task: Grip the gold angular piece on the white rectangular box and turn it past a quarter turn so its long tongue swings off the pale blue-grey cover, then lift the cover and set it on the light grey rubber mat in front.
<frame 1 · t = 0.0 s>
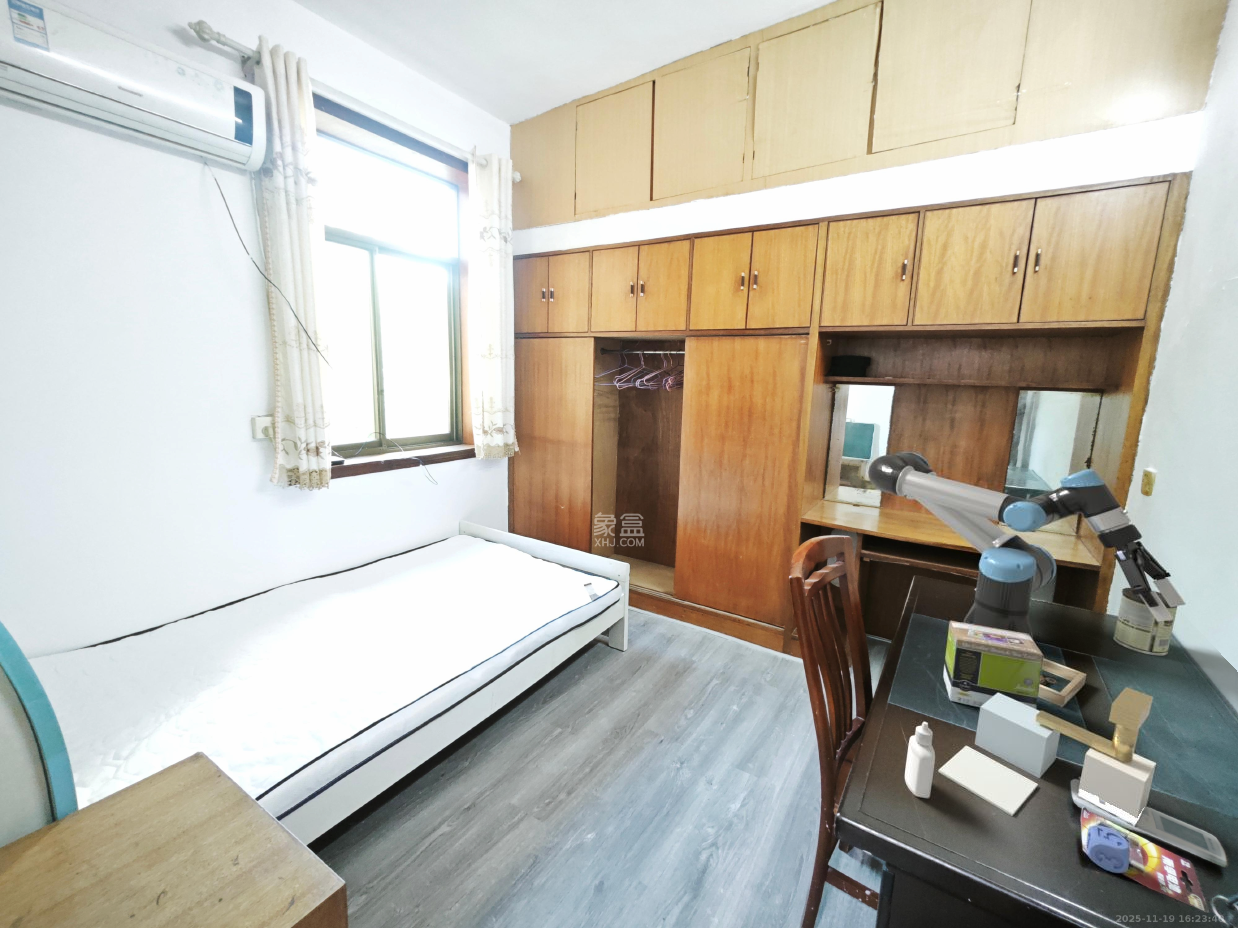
hand: (1172, 612, 120), 15 cm above the table, tool tilted 35°, fingers open, 13 cm apart
gold angular piece: (1088, 712, 86), point 13 cm above the table, hinge at 0.0°
tea box: (984, 698, 111), on the table
coffee can: (1139, 646, 135), on the table
beige square frame: (1032, 678, 119), on the table
eye dropper bottle: (916, 786, 87), on the table
decorative dice: (1104, 861, 74), on the table
mat: (987, 778, 89), on the table
compass: (1032, 679, 119), resting in beige square frame
white rectangular box: (1111, 800, 85), on the table
cover: (1014, 751, 96), on the table
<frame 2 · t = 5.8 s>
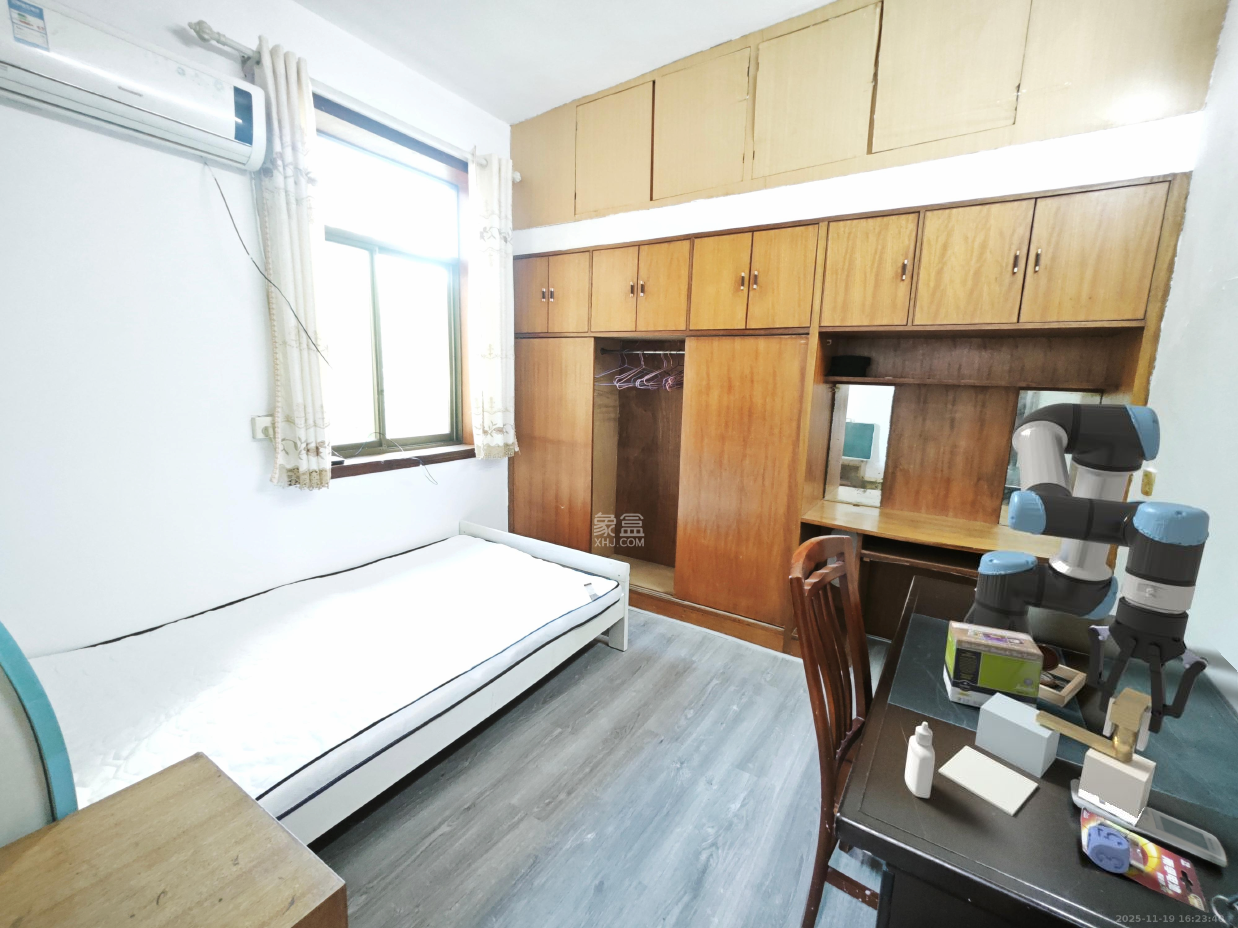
hand: (1124, 738, 83), 12 cm above the table, tool pointing down, fingers closed on gold angular piece, 3 cm apart
gold angular piece: (1088, 712, 86), point 13 cm above the table, hinge at -0.1°, touching gripper
compass: (1043, 681, 119), resting in beige square frame
everything else where it was.
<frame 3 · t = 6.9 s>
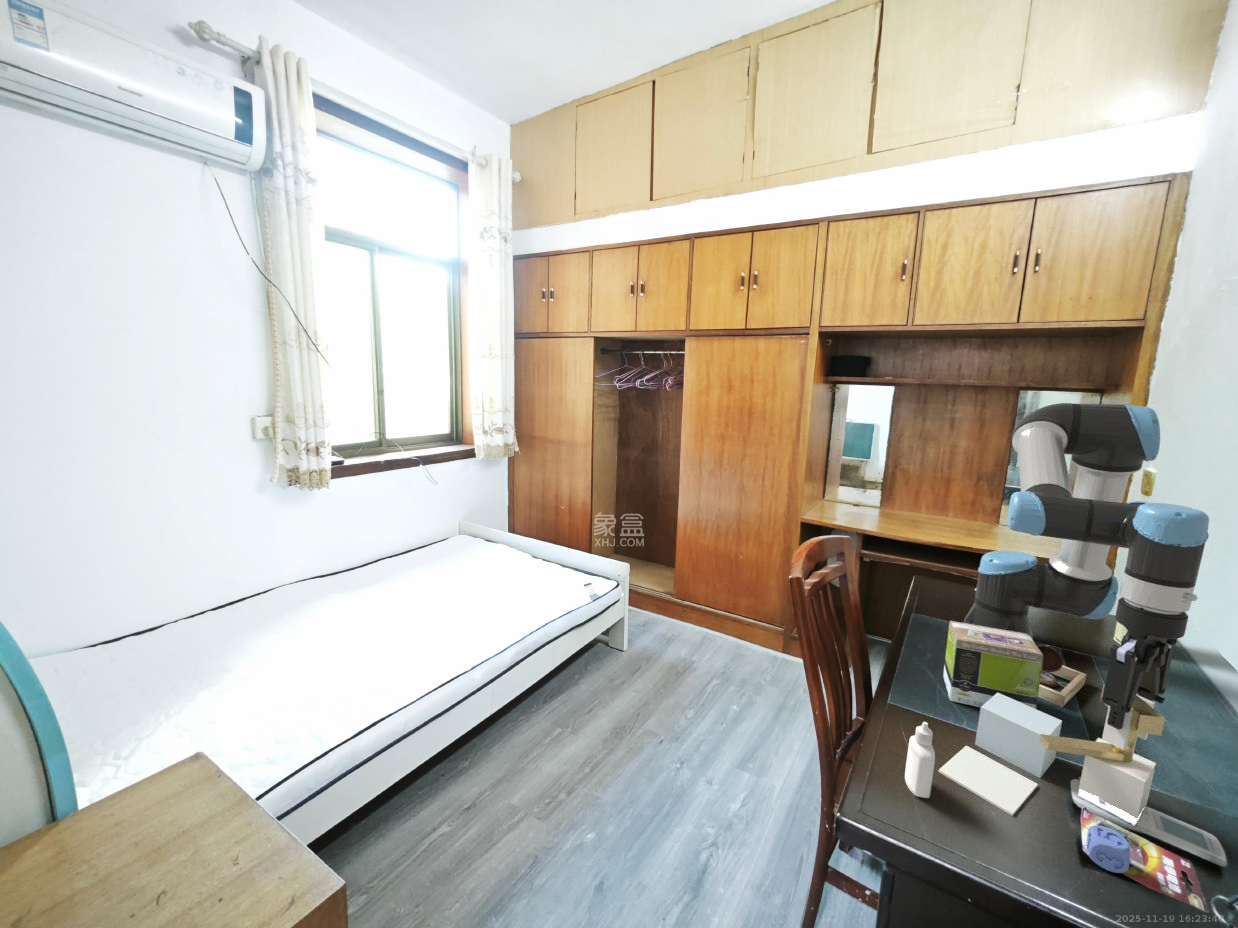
hand: (1124, 738, 83), 12 cm above the table, tool pointing down, fingers closed on gold angular piece, 5 cm apart
gold angular piece: (1092, 723, 83), point 13 cm above the table, hinge at 43.8°, touching gripper
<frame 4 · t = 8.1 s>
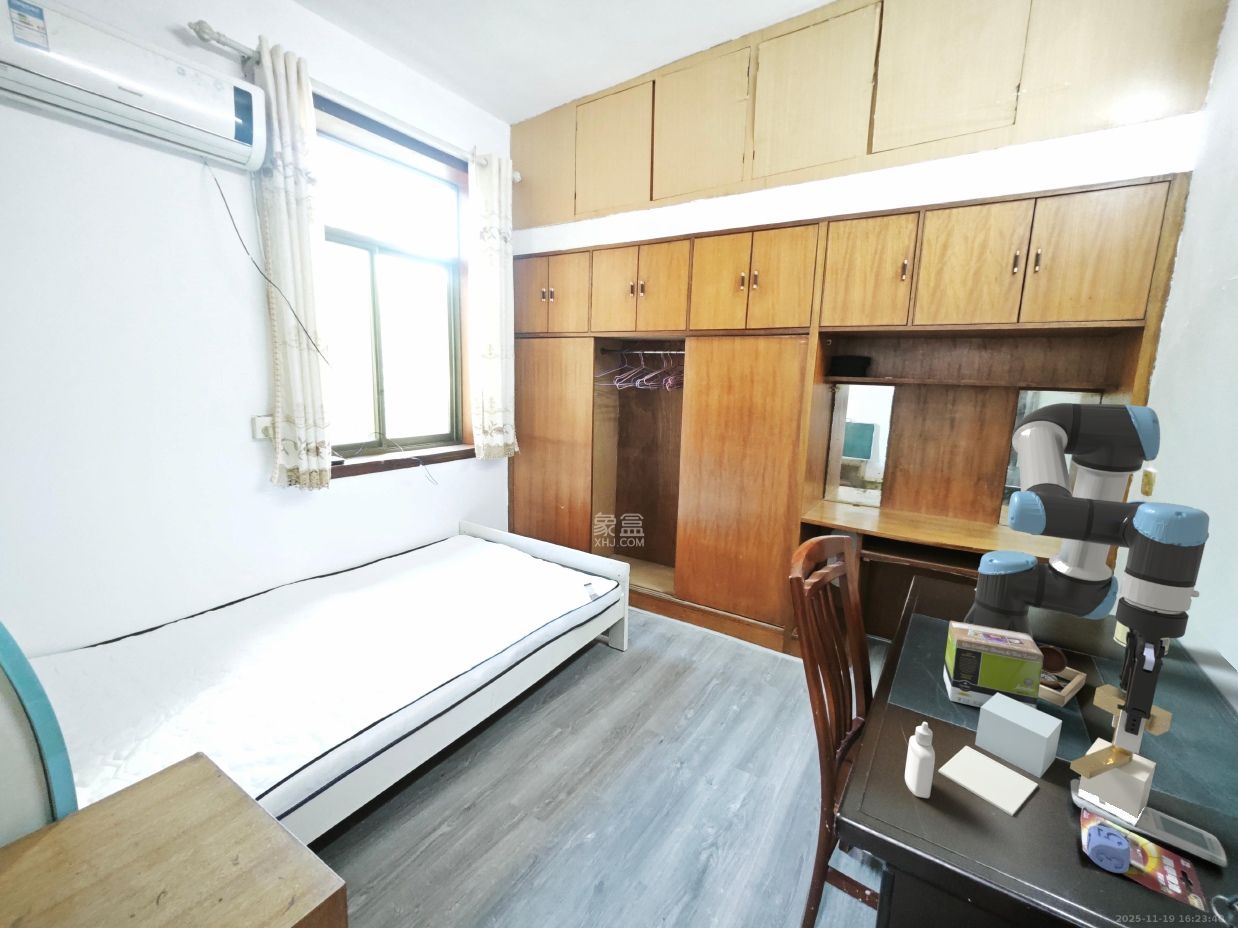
hand: (1124, 738, 83), 12 cm above the table, tool pointing down, fingers closed on gold angular piece, 5 cm apart
gold angular piece: (1109, 735, 81), point 13 cm above the table, hinge at 76.3°, touching gripper
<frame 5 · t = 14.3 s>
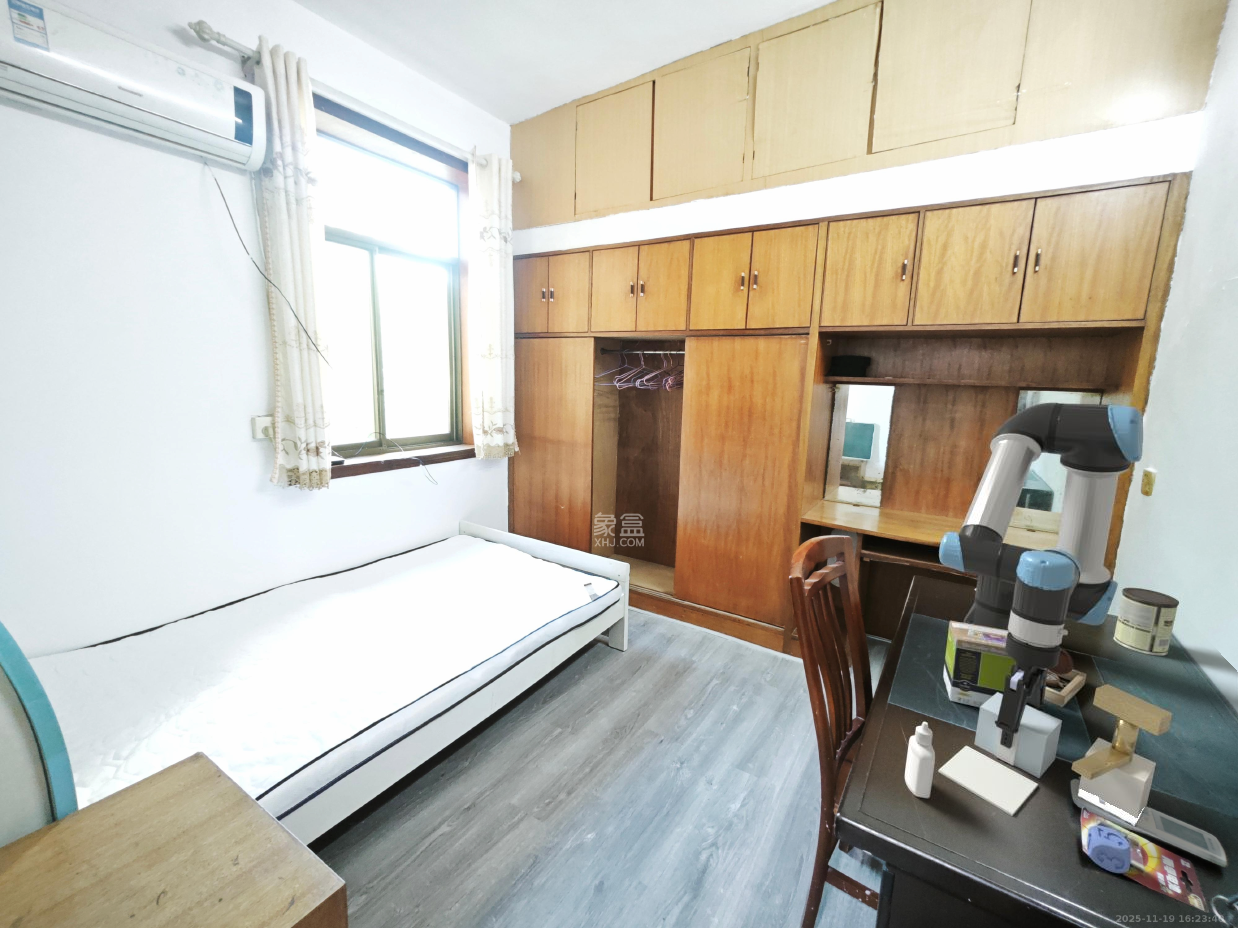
hand: (1014, 750, 95), 0 cm above the table, tool pointing down, fingers closed on cover, 8 cm apart
gold angular piece: (1110, 735, 80), point 13 cm above the table, hinge at 77.5°
cover: (1013, 751, 96), on the table, touching gripper
when the fingers open (2 cm above the table, at t = 21.5 s): cover drops 1 cm, resting on mat.
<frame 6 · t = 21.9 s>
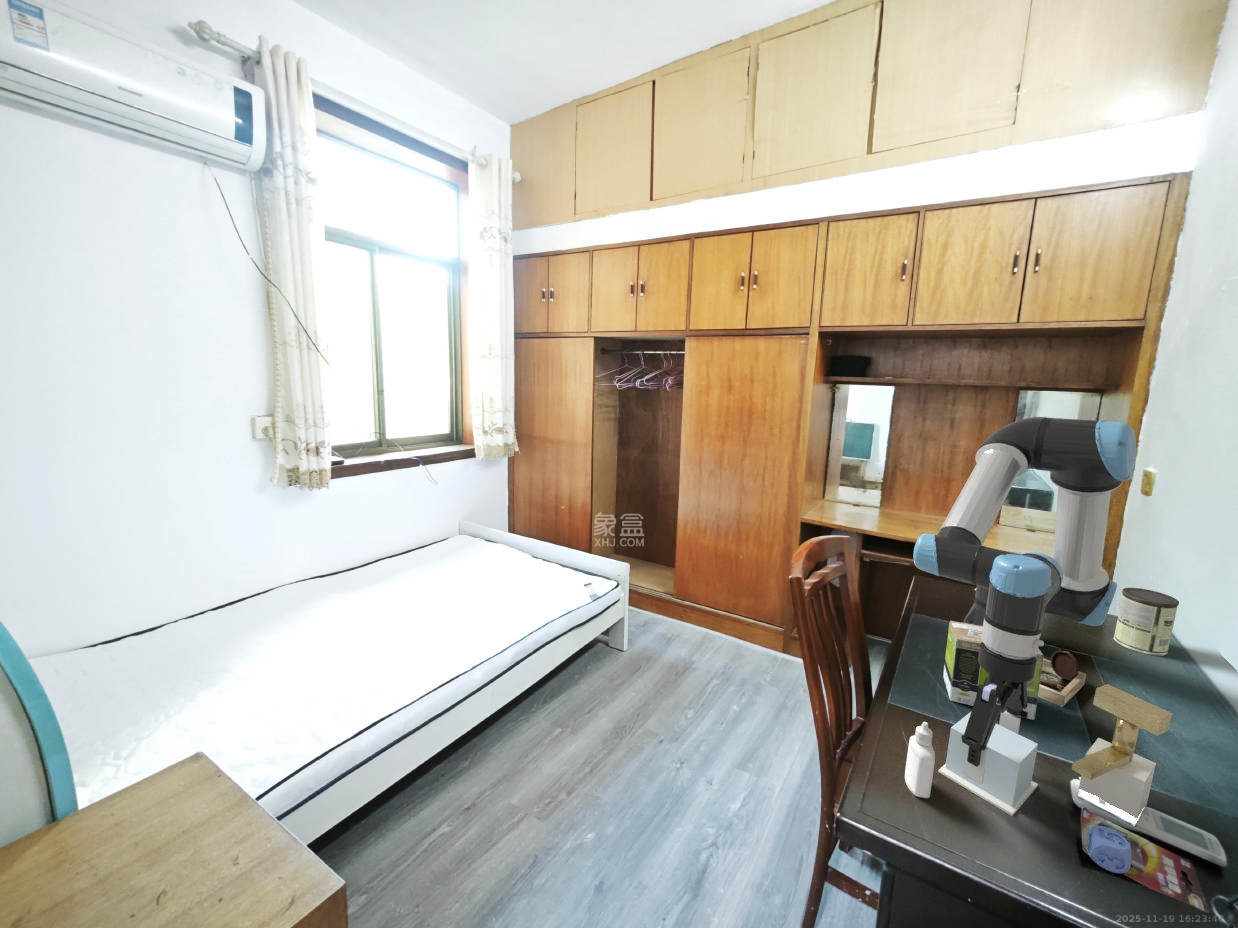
hand: (989, 762, 88), 3 cm above the table, tool pointing down, fingers open, 13 cm apart
cover: (987, 776, 89), resting on mat
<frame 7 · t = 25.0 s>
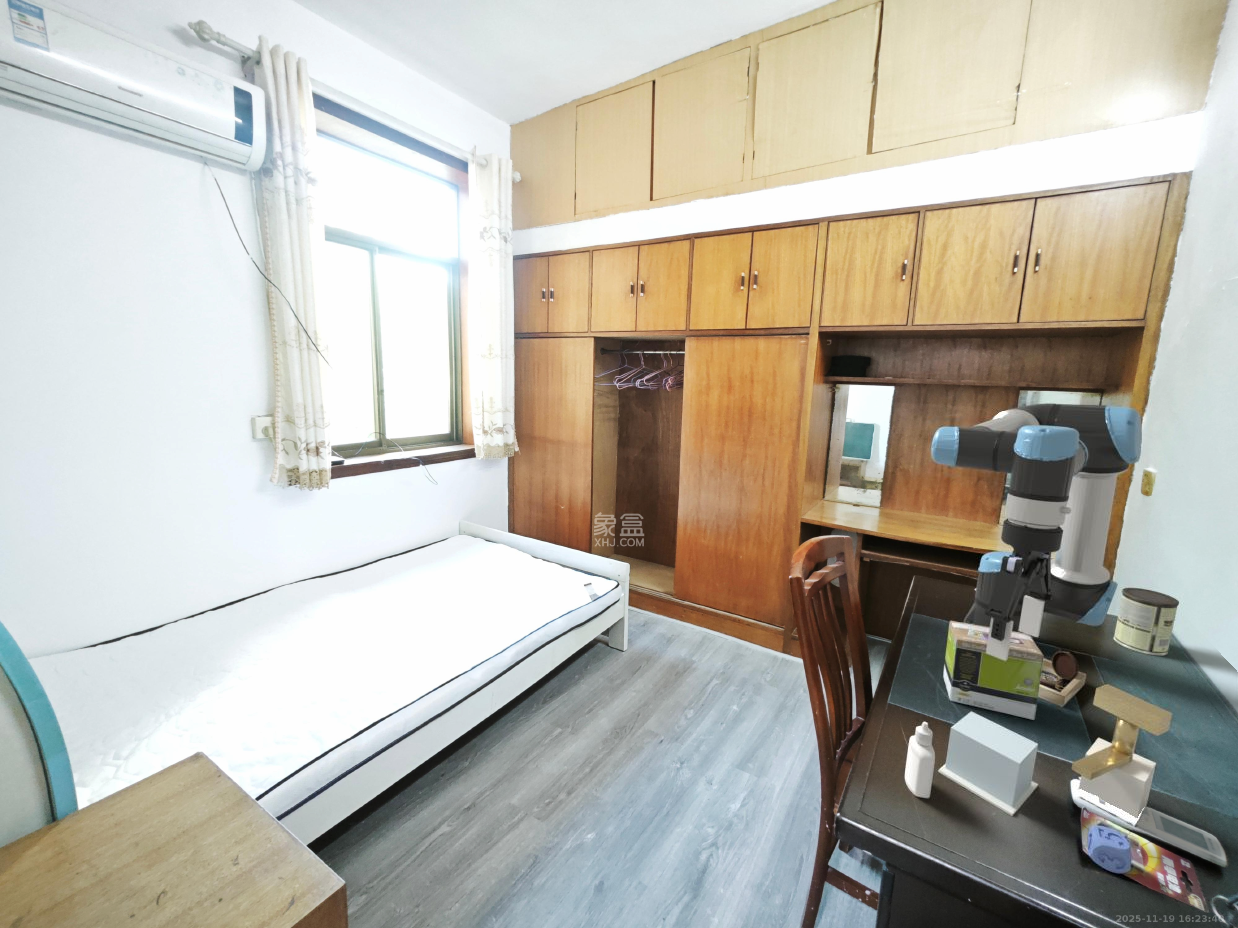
hand: (1013, 644, 86), 25 cm above the table, tool pointing down, fingers open, 13 cm apart
at the end: gold angular piece at +78° (first picture: +0°); cover inside the target area (0.1 cm from its centre), resting on mat; cover tilted 0° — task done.
